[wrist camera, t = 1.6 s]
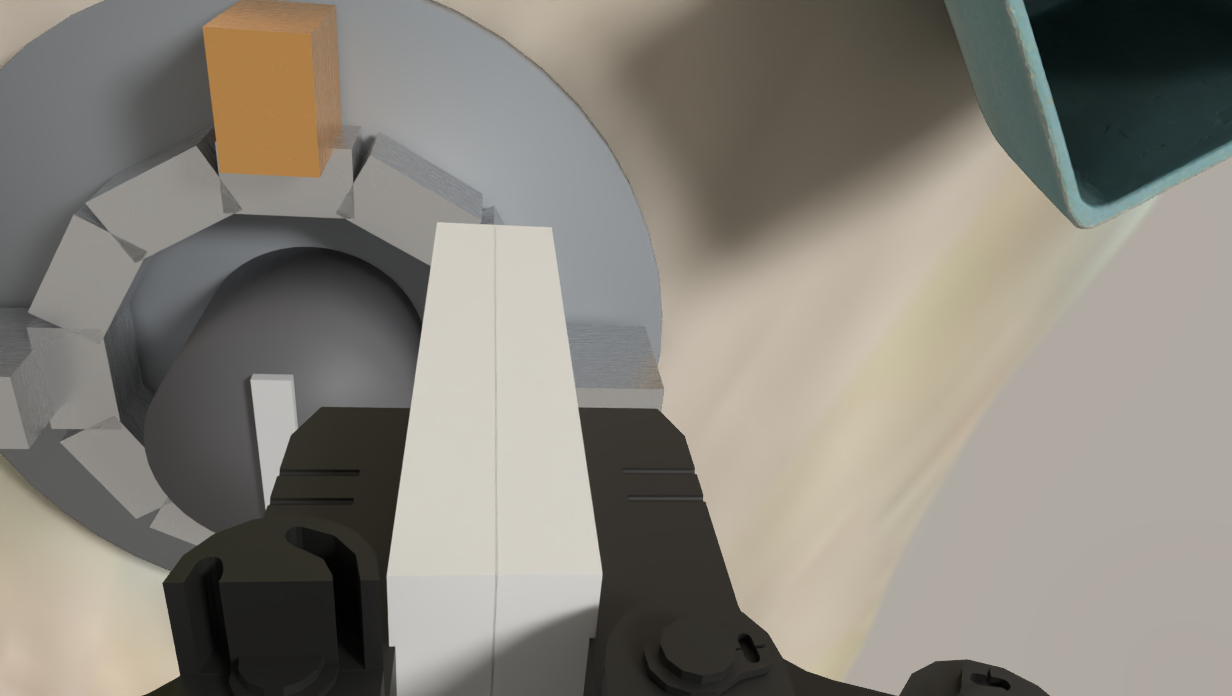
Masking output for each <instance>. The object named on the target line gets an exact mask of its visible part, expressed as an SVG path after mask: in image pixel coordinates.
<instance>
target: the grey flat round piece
mask: <svg viewBox="0 0 1232 696" xmlns="http://www.w3.org/2000/svg"><path fill="white" fill-rule="evenodd" d="M203 35H204V43H205V52H206V60H207V68H208V77H209V85H210V93H211V102H212V110H213V118H214V124H213V125H211V126H209V127H207V128H205V129H203V130H202V131H200V132H198V133H196V134H194V135H192V136H190V137H188V138H186V139H184V140H182V141H180V142H178V143H176V144H175V145H173V146H171V147H169V148H167V149H165V150H163V151H161V152H159V153H157V154H155V155H153V156H151V157H149V158H147V159H146V160H144V161H142V162H140V163H138V164H136V165H134V166H132V167H130V168H128V169H126V170H124V171H122V172H120V173H118V174H117V175H115V176H113V177H112V178H111V179H110V180H109V181H108V182H107V183H106V184H105V185H104V186H103V187H102V188H101V189H100V190H98V191H97V192H96V193H95V194H94V195H93V196H92V197H91V198H90V199H89V200H88V201H87V202H86V204H84V205H83V206H82V207H81V208H80V209H79V210H78V211H77V212H76V213H75V214H74V215H73V217H72V219H71V221H70V223H69V225H68V228H67V230H66V232H65V234H64V236H63V238H62V240H61V243H60V245H59V247H58V249H57V251H56V253H55V255H54V258H53V260H52V262H51V264H50V266H49V268H48V270H47V272H46V275H45V277H44V279H43V281H42V283H41V285H40V287H39V290H38V292H37V294H36V296H35V298H34V300H33V302H32V305H31V307H30V308H2V307H0V449H29V448H30V447H31V446H32V444H33V443H34V442H35V440H36V439H37V438H38V436H39V435H40V434H41V432H42V431H43V429H44V428H45V427H46V425H47V424H48V423H49V421H50V424H51V428H52V429H68V431H67V432H66V433H65V435H64V436H63V438H62V439H61V441H60V443H61V444H62V445H63V446H64V447H65V448H66V449H67V450H68V451H69V452H70V453H71V454H72V455H73V456H74V457H75V458H76V459H77V460H78V461H79V462H80V463H81V464H82V465H83V466H84V467H85V468H86V469H87V470H88V471H89V472H90V473H91V474H92V475H93V476H94V477H95V478H96V479H97V480H98V481H99V482H100V483H101V484H102V485H103V486H104V487H105V488H106V489H107V490H108V491H109V492H110V493H111V494H112V495H113V496H114V497H115V498H116V499H117V500H118V501H119V502H120V503H121V504H122V505H123V506H124V507H125V508H126V509H127V510H128V511H129V512H130V513H131V514H132V515H133V516H134V517H135V518H136V519H137V518H139V517H141V516H143V515H146V514H148V513H150V512H152V511H154V510H156V509H158V508H159V509H158V511H157V513H156V515H155V517H154V519H153V521H152V523H151V525H150V528H153V529H155V530H158V531H160V532H163V533H166V534H168V535H171V536H173V537H176V538H179V539H181V540H184V541H186V542H189V543H192V544H194V545H199V544H200V543H202V542H203V541H204V540H206V539H207V538H209V537H210V536H212V535H213V534H215V532H212V531H210V530H209V529H207V528H205V527H203V526H202V525H200V524H198V523H197V522H195V521H194V520H193V519H191V518H190V517H189V516H187V515H186V514H184V513H183V512H182V511H181V510H180V509H179V508H178V507H177V506H176V505H175V504H174V503H173V502H172V501H171V500H170V499H169V498H168V496H167V495H166V494H165V493H164V492H163V490H162V489H161V487H160V486H159V484H158V482H157V481H156V479H155V478H154V475H153V473H152V471H151V469H150V466H149V464H148V460H147V457H146V453H145V446H144V423H145V419H146V415H147V411H148V408H149V406H150V404H151V402H152V399H153V397H154V395H153V393H152V392H151V391H150V390H149V389H148V388H147V387H146V386H145V385H144V381H143V375H142V370H141V364H140V359H139V353H138V348H137V342H136V337H135V332H134V326H133V321H132V315H131V310H130V304H129V303H130V301H131V299H132V297H133V295H134V293H135V292H136V290H137V288H138V286H139V284H140V282H141V280H142V278H143V276H144V274H145V272H146V270H147V268H148V266H149V264H150V262H151V261H152V259H153V257H154V255H155V253H157V252H159V251H161V250H163V249H165V248H167V247H169V246H171V245H173V244H175V243H177V242H179V241H181V240H183V239H185V238H187V237H189V236H191V235H193V234H195V233H197V232H199V231H201V230H203V229H205V228H207V227H209V226H211V225H213V224H215V223H216V222H218V221H220V220H222V219H224V218H226V217H228V216H230V215H232V214H253V215H276V216H298V217H321V218H343V219H346V220H348V221H350V222H352V223H354V224H355V225H357V226H359V227H361V228H363V229H364V230H366V231H368V232H370V233H372V234H374V235H375V236H377V237H379V238H381V239H383V240H384V241H386V242H388V243H390V244H392V245H393V246H395V247H397V248H399V249H401V250H402V251H404V252H406V253H408V254H410V255H411V256H413V257H415V258H417V259H419V260H421V261H422V262H424V263H426V264H428V265H430V266H431V262H432V255H433V248H434V241H435V234H436V227H437V222H443V223H465V224H488V225H505V223H504V222H503V220H502V218H501V216H500V215H499V213H498V211H497V209H496V208H495V206H492V207H489V208H487V209H485V210H483V211H482V202H483V194H482V193H481V192H479V191H477V190H476V189H474V188H472V187H471V186H469V185H467V184H466V183H464V182H462V181H461V180H459V179H457V178H456V177H454V176H452V175H451V174H449V173H447V172H446V171H444V170H442V169H441V168H439V167H437V166H436V165H434V164H432V163H431V162H429V161H427V160H426V159H424V158H422V157H421V156H419V155H417V154H416V153H414V152H412V151H411V150H409V149H407V148H406V147H404V146H402V145H401V144H399V143H397V142H396V141H394V140H392V139H391V138H389V137H387V136H386V135H384V134H382V133H381V132H378V134H377V136H376V138H375V139H374V141H373V143H372V144H371V146H370V148H369V149H368V151H367V153H366V154H365V156H364V158H363V143H362V126H352V125H342V111H341V92H340V73H339V53H338V34H337V15H336V5H329V4H316V3H303V2H290V1H277V0H240V1H238V2H237V3H235V4H234V5H233V6H231V7H230V8H228V9H227V10H225V11H224V12H223V13H221V14H220V15H218V16H217V17H216V18H214V19H213V20H211V21H210V22H208V23H207V24H206V25H204V26H203ZM566 328H567V335H568V341H569V348H570V355H571V362H572V369H573V375H574V382H575V389H576V396H577V403H578V407H589V408H654V409H658V410H659V411H660V412H661V408H662V401H663V394H664V387H663V384H662V381H661V377H660V374H659V371H658V367H657V364H656V360H655V357H654V354H653V350H652V347H651V344H650V340H649V337H648V334H647V330H646V327H645V326H618V325H584V324H566Z"/></svg>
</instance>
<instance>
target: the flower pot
mask: <svg viewBox="0 0 1232 696" xmlns="http://www.w3.org/2000/svg"><path fill="white" fill-rule="evenodd" d="M944 2H945V5H946V8H947V11H948V14H949V17H950V20H951V22H952V25H953V28H954V31H955V34H956V37H957V40H958V43H959V46H960V49H961V52H962V55H963V58H964V62H965V65H966V68H967V71H968V74H969V77H970V80H971V83H972V86H973V89H974V92H975V95H976V98H977V101H978V104H979V107H980V109H981V111H982V114H983V116H984V118H985V120H986V122H987V124H988V126H989V128H990V130H991V132H992V134H993V135H994V137H995V138H996V140H997V142H998V143H999V144H1000V145H1001V147H1002V148H1003V149H1004V150H1005V152H1006V153H1007V154H1008V155H1009V156H1010V158H1011V159H1012V160H1013V161H1014V162H1015V163H1016V164H1017V165H1018V166H1019V167H1020V169H1021V170H1022V171H1023V172H1024V173H1025V174H1026V175H1027V176H1028V177H1029V178H1030V180H1031V181H1032V182H1033V183H1034V184H1035V185H1036V186H1037V187H1038V188H1039V189H1040V190H1041V191H1042V192H1043V193H1044V194H1045V195H1046V197H1047V198H1048V199H1049V200H1050V201H1051V202H1052V203H1053V204H1054V205H1055V206H1056V207H1057V208H1058V209H1059V210H1060V211H1061V212H1062V213H1063V214H1064V215H1065V216H1066V217H1067V218H1068V219H1069V220H1070V221H1071V223H1072V224H1073V225H1074V226H1076V227H1077V228H1080V229H1091V228H1094V227H1096V226H1098V225H1100V224H1103V223H1105V222H1107V221H1109V220H1111V219H1114V218H1117V217H1118V216H1119V215H1121V214H1123V213H1125V212H1127V211H1129V210H1130V209H1132V208H1134V207H1137V206H1139V205H1141V204H1142V203H1144V202H1146V201H1148V200H1149V199H1151V198H1153V197H1155V196H1156V195H1159V194H1161V193H1163V192H1165V191H1167V190H1168V189H1170V188H1172V187H1174V186H1176V185H1178V184H1180V183H1182V182H1184V181H1186V180H1188V179H1190V178H1191V177H1193V176H1196V175H1198V174H1199V173H1201V172H1204V171H1206V170H1208V169H1210V168H1212V167H1214V166H1215V165H1217V164H1219V163H1221V162H1223V161H1225V160H1226V159H1228V158H1230V157H1232V0H944Z"/></svg>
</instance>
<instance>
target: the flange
mask: <svg viewBox="0 0 1232 696" xmlns="http://www.w3.org/2000/svg"><path fill="white" fill-rule="evenodd" d="M238 1H240V0H104V1H102V2H100V3H97V4H95V5H93V6H91V7H89V8H86V9H84V10H82V11H80V12H78V13H75V14H73V15H71V16H70V17H68V18H67V19H65V20H64V21H62V22H61V23H59V24H57V25H56V26H54V27H53V28H51V29H50V30H48V31H47V32H45V33H44V34H42V35H41V36H39V37H38V38H36V39H35V40H33V41H32V42H30V43H28V44H27V45H26V46H25V47H24V48H23V49H22V50H21V51H20V52H19V53H17V54H16V55H15V56H14V57H13V58H12V59H11V60H10V61H9V62H8V63H7V64H6V65H5V66H4V67H2V68H1V69H0V307H2V308H30V307H31V305H32V302H33V300H34V298H35V296H36V294H37V292H38V290H39V287H40V285H41V283H42V281H43V279H44V277H45V275H46V272H47V270H48V268H49V266H50V264H51V262H52V260H53V258H54V255H55V253H56V251H57V249H58V247H59V245H60V243H61V240H62V238H63V236H64V234H65V232H66V230H67V228H68V225H69V223H70V221H71V219H72V217H73V215H74V214H75V213H76V212H77V211H78V210H79V209H80V208H81V207H82V206H83V205H84V204H86V202H87V201H88V200H89V199H90V198H91V197H92V196H93V195H94V194H95V193H96V192H97V191H98V190H100V189H101V188H102V187H103V186H104V185H105V184H106V183H107V182H108V181H109V180H110V179H111V178H112V177H113V176H115V175H117V174H118V173H120V172H122V171H124V170H126V169H128V168H130V167H132V166H134V165H136V164H138V163H140V162H142V161H144V160H146V159H147V158H149V157H151V156H153V155H155V154H157V153H159V152H161V151H163V150H165V149H167V148H169V147H171V146H173V145H175V144H176V143H178V142H180V141H182V140H184V139H186V138H188V137H190V136H192V135H194V134H196V133H198V132H200V131H202V130H203V129H205V128H207V127H209V126H211V125H213V124H214V118H213V110H212V102H211V93H210V85H209V77H208V68H207V60H206V52H205V43H204V35H203V26H204V25H206V24H207V23H208V22H210V21H211V20H213V19H214V18H216V17H217V16H218V15H220V14H221V13H223V12H224V11H225V10H227V9H228V8H230V7H231V6H233V5H234V4H235V3H237V2H238ZM277 1H290V2H303V3H316V4H329V5H336V15H337V34H338V53H339V73H340V92H341V111H342V125H352V126H362V143H363V158H364V156H365V154H366V153H367V151H368V149H369V148H370V146H371V144H372V143H373V141H374V139H375V138H376V136H377V134H378V132H381V133H382V134H384V135H386V136H387V137H389V138H391V139H392V140H394V141H396V142H397V143H399V144H401V145H402V146H404V147H406V148H407V149H409V150H411V151H412V152H414V153H416V154H417V155H419V156H421V157H422V158H424V159H426V160H427V161H429V162H431V163H432V164H434V165H436V166H437V167H439V168H441V169H442V170H444V171H446V172H447V173H449V174H451V175H452V176H454V177H456V178H457V179H459V180H461V181H462V182H464V183H466V184H467V185H469V186H471V187H472V188H474V189H476V190H477V191H479V192H481V193H482V194H483V202H482V211H483V210H485V209H487V208H489V207H492V206H495V208H496V209H497V211H498V213H499V215H500V216H501V218H502V220H503V222H504V223H505V225H511V226H534V227H552V232H553V239H554V246H555V253H556V260H557V266H558V273H559V280H560V287H561V294H562V300H563V307H564V314H565V321H566V324H584V325H618V326H645V327H646V330H647V334H648V337H649V340H650V344H651V347H652V350H653V354H654V357H655V360H656V364H657V366H658V361H659V356H660V347H661V331H662V304H661V292H660V281H659V273H658V269H657V264H656V260H655V256H654V252H653V247H652V243H651V239H650V235H649V232H648V229H647V227H646V224H645V221H644V219H643V216H642V214H641V211H640V209H639V206H638V203H637V201H636V198H635V196H634V193H633V191H632V188H631V186H630V183H629V181H628V179H627V177H626V175H625V174H624V172H623V170H622V168H621V167H620V165H619V163H618V161H617V159H616V158H615V156H614V154H613V152H612V151H611V149H610V147H609V145H608V143H607V142H606V140H605V139H604V138H603V137H602V135H601V134H600V133H599V131H598V130H597V129H596V127H595V126H594V125H593V123H592V122H591V121H590V119H589V118H588V117H587V115H586V114H585V113H584V111H583V110H582V109H581V107H580V106H579V105H578V104H577V103H576V102H575V101H574V100H573V99H572V98H571V97H570V96H569V95H568V94H567V93H566V92H565V91H564V90H563V89H562V88H561V87H560V86H559V85H558V84H557V83H556V82H555V81H554V80H553V79H552V78H551V77H550V76H549V75H548V74H547V73H546V72H545V70H543V69H542V68H541V67H540V66H538V65H537V64H536V63H534V62H533V61H532V60H531V59H529V58H528V57H527V56H525V55H524V54H523V53H522V52H520V51H519V50H518V49H516V48H515V47H514V46H513V45H511V44H510V43H509V42H507V41H506V40H505V39H504V38H502V37H500V36H499V35H497V34H495V33H493V32H492V31H490V30H488V29H487V28H485V27H483V26H482V25H480V24H478V23H477V22H475V21H473V20H471V19H470V18H468V17H466V16H465V15H463V14H461V13H460V12H458V11H456V10H453V9H451V8H449V7H446V6H444V5H442V4H439V3H437V2H435V1H432V0H277ZM430 269H431V266H430V265H428V264H426V263H424V262H422V261H421V260H419V259H417V258H415V257H413V256H411V255H410V254H408V253H406V252H404V251H402V250H401V249H399V248H397V247H395V246H393V245H392V244H390V243H388V242H386V241H384V240H383V239H381V238H379V237H377V236H375V235H374V234H372V233H370V232H368V231H366V230H364V229H363V228H361V227H359V226H357V225H355V224H354V223H352V222H350V221H348V220H346V219H343V218H321V217H298V216H276V215H253V214H232V215H230V216H228V217H226V218H224V219H222V220H220V221H218V222H216V223H215V224H213V225H211V226H209V227H207V228H205V229H203V230H201V231H199V232H197V233H195V234H193V235H191V236H189V237H187V238H185V239H183V240H181V241H179V242H177V243H175V244H173V245H171V246H169V247H167V248H165V249H163V250H161V251H159V252H157V253H155V255H154V257H153V259H152V261H151V262H150V264H149V266H148V268H147V270H146V272H145V274H144V276H143V278H142V280H141V282H140V284H139V286H138V288H137V290H136V292H135V293H134V295H133V297H132V299H131V301H130V303H129V304H130V310H131V315H132V321H133V326H134V332H135V337H136V342H137V348H138V353H139V359H140V364H141V370H142V375H143V381H144V385H145V386H146V387H147V388H148V389H149V390H150V391H151V392H152V393H153V395H154V397H153V399H152V402H151V404H150V406H149V408H148V411H147V415H146V419H145V423H144V446H145V453H146V457H147V460H148V464H149V466H150V469H151V471H152V473H153V475H154V478H155V479H156V481H157V482H158V484H159V486H160V487H161V489H162V490H163V492H164V493H165V494H166V495H167V496H168V498H169V499H170V500H171V501H172V502H173V503H174V504H175V505H176V506H177V507H178V508H179V509H180V510H181V511H182V512H183V513H184V514H186V515H187V516H189V517H190V518H191V519H193V520H194V521H195V522H197V523H198V524H200V525H202V526H203V527H205V528H207V529H209V530H210V531H212V532H215V533H217V532H220V531H223V530H225V529H228V528H231V527H233V526H236V525H239V524H242V523H244V522H247V521H250V520H253V519H260V518H263V517H264V514H265V511H266V508H267V505H270V496H271V493H272V490H273V487H274V484H275V481H276V478H277V476H279V473H280V466H281V463H282V460H283V457H284V454H285V451H286V448H287V445H288V442H289V439H290V436H291V435H292V434H293V433H294V432H295V431H296V430H297V429H298V428H299V427H300V426H301V425H302V424H303V423H304V422H306V421H307V420H308V419H309V418H310V417H311V416H312V415H313V414H314V413H315V412H316V411H317V410H318V409H319V408H321V407H372V408H411V402H412V395H413V388H414V381H415V374H416V367H417V360H418V353H419V346H420V339H421V332H422V325H423V318H424V311H425V304H426V297H427V290H428V283H429V276H430ZM67 431H68V429H52V428H51V424H50V421H49V423H48V424H47V425H46V427H45V428H44V429H43V431H42V432H41V434H40V435H39V436H38V438H37V439H36V440H35V442H34V443H33V444H32V446H31V447H30V448H29V449H0V452H1V454H2V455H3V456H4V457H5V458H6V459H7V460H8V461H9V462H10V463H11V464H12V465H13V466H14V467H15V468H16V470H17V471H18V472H19V473H20V474H21V475H22V476H23V477H24V478H25V479H26V480H27V481H28V482H29V483H30V484H31V485H32V486H33V487H35V488H36V489H37V490H38V491H39V492H40V493H42V494H43V495H44V496H45V497H46V498H47V499H49V500H50V501H51V502H52V503H53V504H55V505H56V506H57V507H58V508H59V509H60V510H62V511H63V512H64V513H66V514H67V515H69V516H70V517H72V518H73V519H75V520H76V521H78V522H79V523H80V524H82V525H83V526H85V527H86V528H88V529H89V530H91V531H92V532H94V533H95V534H97V535H98V536H100V537H102V538H104V539H105V540H107V541H109V542H111V543H113V544H115V545H116V546H118V547H120V548H122V549H124V550H126V551H127V552H129V553H131V554H133V555H135V556H137V557H139V558H141V559H144V560H146V561H148V562H151V563H153V564H155V565H158V566H160V567H163V568H165V569H167V570H170V571H172V570H173V568H174V567H175V566H176V564H177V563H178V561H179V560H180V559H181V557H182V556H183V555H184V554H186V553H187V552H189V551H190V550H191V549H193V548H194V547H196V546H197V545H194V544H192V543H189V542H186V541H184V540H181V539H179V538H176V537H173V536H171V535H168V534H166V533H163V532H160V531H158V530H155V529H153V528H150V525H151V523H152V521H153V519H154V517H155V515H156V513H157V511H158V509H159V508H158V509H156V510H154V511H152V512H150V513H148V514H146V515H143V516H141V517H139V518H137V519H136V518H135V517H134V516H133V515H132V514H131V513H130V512H129V511H128V510H127V509H126V508H125V507H124V506H123V505H122V504H121V503H120V502H119V501H118V500H117V499H116V498H115V497H114V496H113V495H112V494H111V493H110V492H109V491H108V490H107V489H106V488H105V487H104V486H103V485H102V484H101V483H100V482H99V481H98V480H97V479H96V478H95V477H94V476H93V475H92V474H91V473H90V472H89V471H88V470H87V469H86V468H85V467H84V466H83V465H82V464H81V463H80V462H79V461H78V460H77V459H76V458H75V457H74V456H73V455H72V454H71V453H70V452H69V451H68V450H67V449H66V448H65V447H64V446H63V445H62V444H61V443H60V441H61V439H62V438H63V436H64V435H65V433H66V432H67Z"/></svg>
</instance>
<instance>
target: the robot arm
mask: <svg viewBox="0 0 1232 696" xmlns="http://www.w3.org/2000/svg"><path fill="white" fill-rule="evenodd" d="M694 470H695V467H694V464H693V461H692V458H691V455H690V452H689V448H688V445H687V442H686V439H685V436H684V435H683V434H682V433H681V432H680V431H679V430H678V429H677V428H676V427H675V426H674V425H673V424H672V423H671V422H670V421H669V420H668V419H667V418H666V417H665V416H664V415H663V414H662V413H661V412H660V411H659V410H658V409H654V408H589V407H578V403H577V396H576V389H575V382H574V375H573V369H572V362H571V355H570V348H569V341H568V335H567V328H566V321H565V314H564V307H563V300H562V294H561V287H560V280H559V273H558V266H557V260H556V253H555V246H554V239H553V232H552V227H534V226H511V225H488V224H465V223H443V222H437V227H436V234H435V241H434V248H433V255H432V262H431V269H430V276H429V283H428V290H427V297H426V304H425V311H424V318H423V325H422V332H421V339H420V346H419V353H418V360H417V367H416V374H415V381H414V388H413V395H412V402H411V408H372V407H321V408H319V409H318V410H317V411H316V412H315V413H314V414H313V415H312V416H311V417H310V418H309V419H308V420H307V421H306V422H304V423H303V424H302V425H301V426H300V427H299V428H298V429H297V430H296V431H295V432H294V433H293V434H292V435H291V436H290V439H289V442H288V445H287V448H286V451H285V454H284V457H283V460H282V463H281V466H280V473H279V476H277V478H276V481H275V484H274V487H273V490H272V493H271V496H270V505H267V508H266V511H265V514H264V517H263V518H260V519H253V520H250V521H247V522H244V523H242V524H239V525H236V526H233V527H231V528H228V529H225V530H223V531H220V532H217V533H215V534H213V535H212V536H210V537H209V538H207V539H206V540H204V541H203V542H202V543H200V544H199V545H197V546H196V547H194V548H193V549H191V550H190V551H189V552H187V553H186V554H184V555H183V556H182V557H181V559H180V560H179V561H178V563H177V564H176V566H175V567H174V568H173V570H172V571H171V572H170V574H169V575H168V577H167V578H166V579H165V581H164V582H163V587H164V593H165V598H166V603H167V608H168V613H169V619H170V624H171V629H172V634H173V639H174V645H175V650H176V655H177V660H178V665H179V671H180V676H179V677H178V678H176V679H174V680H172V681H170V682H169V683H167V684H165V685H163V686H161V687H160V688H158V689H156V690H154V691H152V692H150V693H149V694H146V695H143V696H895V695H891V694H887V693H883V692H879V691H875V690H871V689H867V688H863V687H859V686H855V685H850V684H846V683H842V682H838V681H834V680H831V679H828V678H825V677H822V676H819V675H816V674H813V673H810V672H807V671H805V670H803V669H801V668H799V667H798V666H796V665H794V664H792V663H790V662H788V661H787V660H785V659H783V658H782V656H781V655H780V653H779V651H778V649H777V648H776V646H775V644H774V643H773V641H772V639H771V638H770V636H769V634H768V633H767V632H766V631H765V630H763V629H762V628H761V627H760V626H759V625H757V624H756V623H755V622H754V621H752V620H751V619H750V618H749V617H748V616H746V615H745V614H744V613H743V612H741V611H740V608H739V606H738V604H737V601H736V598H735V594H734V591H733V588H732V585H731V582H730V578H729V575H728V572H727V569H726V566H725V563H724V559H723V556H722V553H721V550H720V547H719V544H718V540H717V537H716V534H715V531H714V528H713V525H712V521H711V518H710V515H709V512H708V509H707V506H706V502H703V493H702V490H701V486H700V483H699V480H698V477H697V474H695V472H694ZM899 696H1049V695H1048V694H1047V693H1046V692H1045V691H1043V690H1042V689H1041V688H1040V687H1039V686H1037V685H1035V684H1033V683H1031V682H1029V681H1027V680H1025V679H1023V678H1021V677H1020V676H1018V675H1015V674H1014V673H1012V672H1010V671H1008V670H1006V669H1004V668H1000V667H997V666H992V665H988V664H984V663H979V662H975V661H971V660H952V661H936V662H934V663H932V664H930V665H928V666H926V667H924V668H922V669H920V670H918V671H916V672H915V673H913V674H911V676H910V678H909V680H908V681H907V683H906V685H905V687H904V688H903V690H902V692H901V694H900V695H899Z"/></svg>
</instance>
